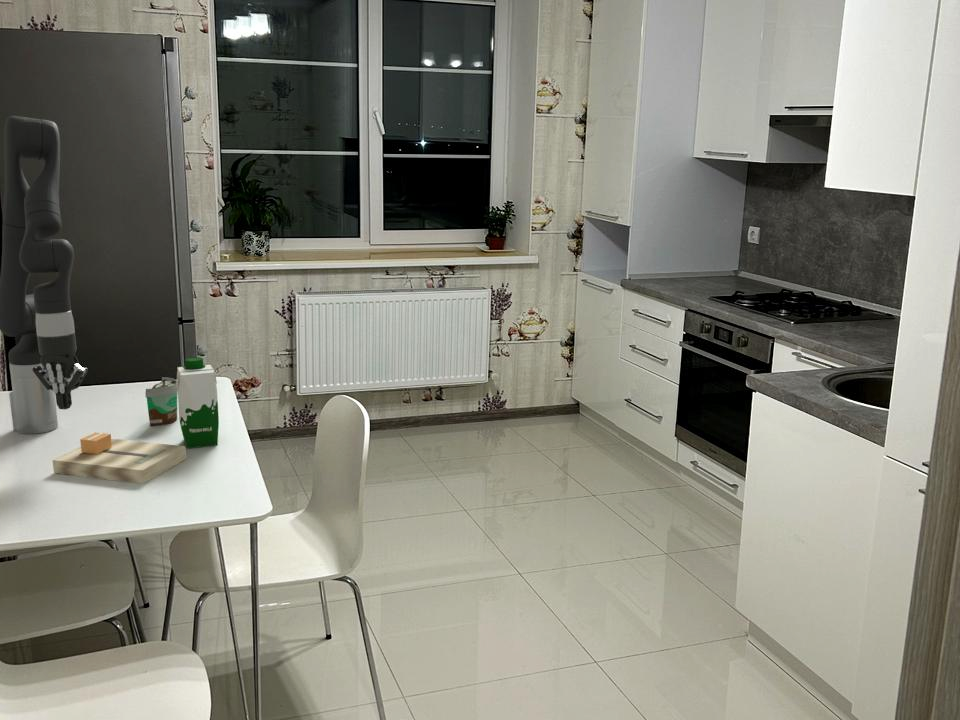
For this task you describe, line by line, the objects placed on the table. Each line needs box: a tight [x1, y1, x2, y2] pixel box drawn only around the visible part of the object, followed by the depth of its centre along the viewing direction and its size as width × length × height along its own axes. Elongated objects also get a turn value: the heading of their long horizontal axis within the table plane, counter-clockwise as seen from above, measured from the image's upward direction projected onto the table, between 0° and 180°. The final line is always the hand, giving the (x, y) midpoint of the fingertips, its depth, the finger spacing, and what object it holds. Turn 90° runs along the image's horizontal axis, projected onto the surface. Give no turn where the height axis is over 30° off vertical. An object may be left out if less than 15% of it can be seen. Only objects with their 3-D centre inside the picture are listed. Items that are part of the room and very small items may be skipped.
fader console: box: [52, 438, 187, 485], centre depth 200 cm, size 22×16×3 cm
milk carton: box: [176, 356, 220, 449], centre depth 214 cm, size 9×9×20 cm
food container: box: [144, 376, 178, 427], centre depth 232 cm, size 12×6×10 cm, turn 179°
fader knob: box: [80, 432, 112, 454], centre depth 201 cm, size 4×5×3 cm
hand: (64, 408), depth 201 cm, fingers closed
